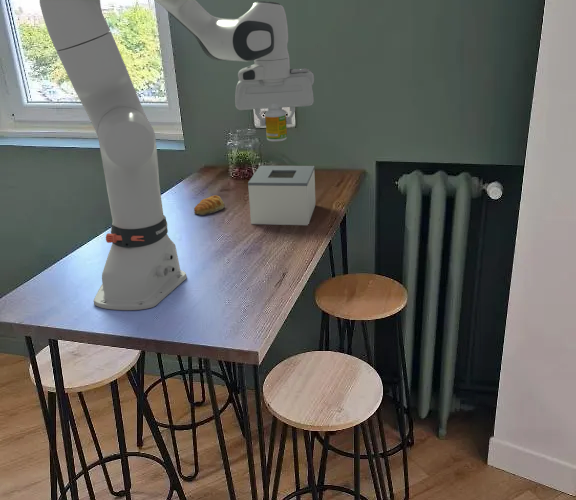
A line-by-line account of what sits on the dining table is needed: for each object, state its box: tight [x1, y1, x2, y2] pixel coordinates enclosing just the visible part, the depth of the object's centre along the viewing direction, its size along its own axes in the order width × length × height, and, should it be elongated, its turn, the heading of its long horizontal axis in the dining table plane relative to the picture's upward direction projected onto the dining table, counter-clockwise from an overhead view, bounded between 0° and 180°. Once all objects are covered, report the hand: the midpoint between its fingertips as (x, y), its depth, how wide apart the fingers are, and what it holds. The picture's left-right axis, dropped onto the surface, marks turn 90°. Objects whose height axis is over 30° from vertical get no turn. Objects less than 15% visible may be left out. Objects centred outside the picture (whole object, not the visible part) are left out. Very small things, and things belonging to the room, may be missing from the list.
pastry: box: [193, 195, 226, 216], centre depth 178 cm, size 9×7×4 cm
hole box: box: [247, 165, 316, 226], centre depth 170 cm, size 16×16×12 cm
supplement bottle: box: [264, 104, 288, 142], centre depth 157 cm, size 5×5×10 cm
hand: (276, 124), depth 158 cm, fingers closed on supplement bottle, 5 cm apart
